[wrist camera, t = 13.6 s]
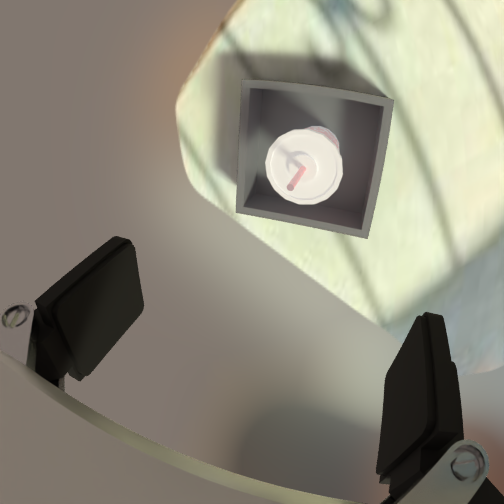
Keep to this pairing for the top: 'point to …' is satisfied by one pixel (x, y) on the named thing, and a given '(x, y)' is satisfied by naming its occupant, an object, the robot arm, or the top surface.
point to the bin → (300, 117)
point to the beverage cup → (305, 165)
